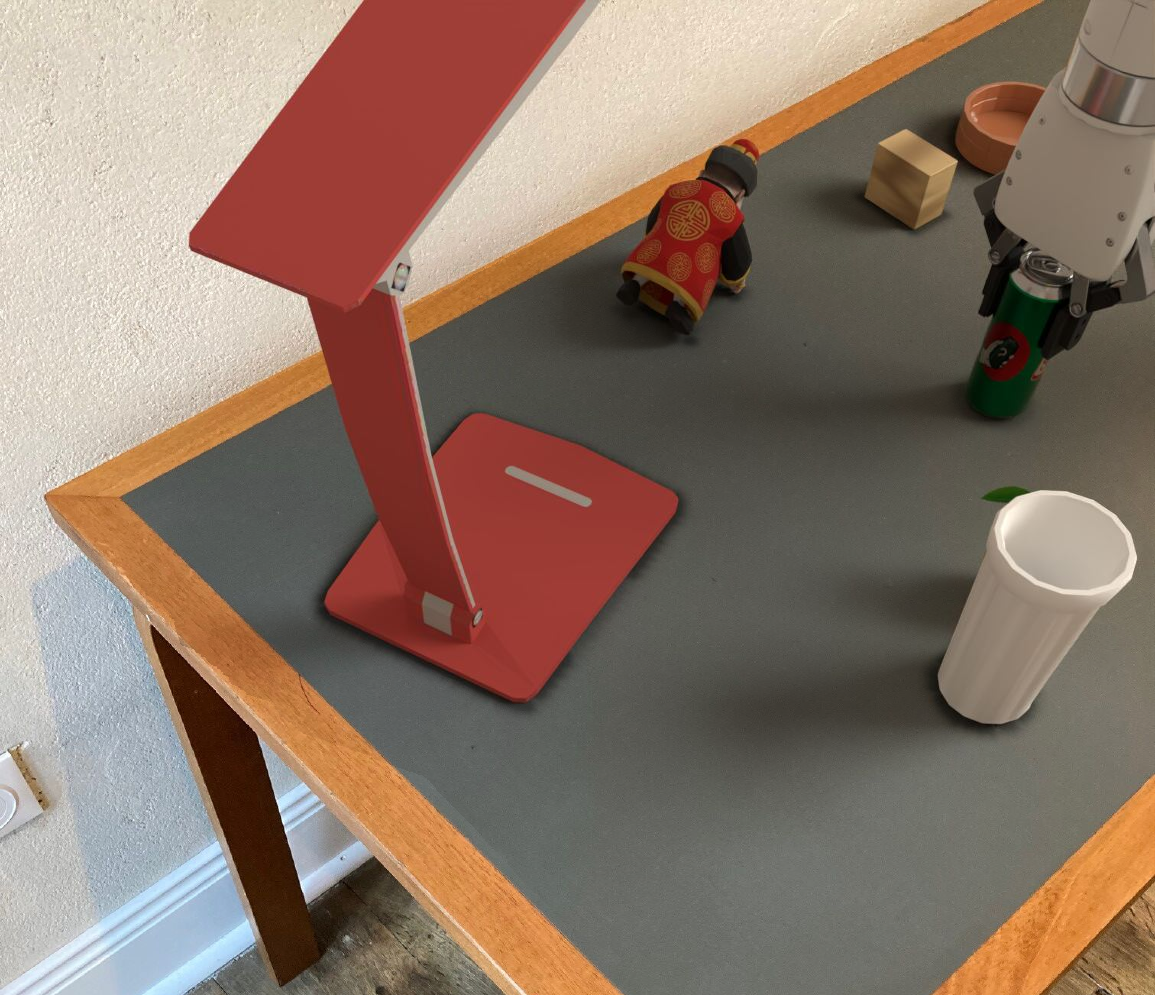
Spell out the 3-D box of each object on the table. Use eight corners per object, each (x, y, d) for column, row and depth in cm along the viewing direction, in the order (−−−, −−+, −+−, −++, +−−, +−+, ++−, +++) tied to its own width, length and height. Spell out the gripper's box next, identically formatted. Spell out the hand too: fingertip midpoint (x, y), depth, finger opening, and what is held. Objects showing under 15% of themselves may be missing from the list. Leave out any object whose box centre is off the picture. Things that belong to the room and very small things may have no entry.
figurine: (708, 368, 98) (803, 213, 98) (698, 318, 89) (803, 147, 88) (613, 317, 100) (706, 164, 100) (593, 263, 91) (696, 94, 90)
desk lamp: (748, 406, 90) (869, -241, 56) (491, 780, 73) (437, 170, 39) (547, 329, 95) (545, -319, 60) (258, 664, 77) (22, 20, 43)
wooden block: (941, 214, 104) (958, 160, 99) (914, 230, 102) (930, 176, 98) (891, 182, 106) (905, 128, 102) (864, 197, 105) (877, 143, 100)
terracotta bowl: (1092, 151, 109) (1105, 119, 106) (1019, 193, 105) (1031, 161, 103) (1004, 100, 113) (1015, 68, 110) (931, 139, 109) (940, 107, 107)
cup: (927, 628, 80) (995, 476, 67) (1047, 652, 79) (1139, 502, 67) (916, 724, 76) (987, 581, 63) (1043, 751, 75) (1139, 611, 63)
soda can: (1028, 426, 90) (1090, 292, 80) (962, 418, 90) (1016, 283, 80) (1026, 382, 93) (1086, 246, 82) (962, 374, 93) (1013, 238, 83)
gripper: (1288, 119, 68) (1151, 370, 84) (1056, -2, 75) (969, 251, 90) (1213, 166, 66) (1085, 415, 81) (980, 36, 72) (903, 290, 88)
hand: (1025, 327), depth 86 cm, fingers closed on soda can, 5 cm apart
